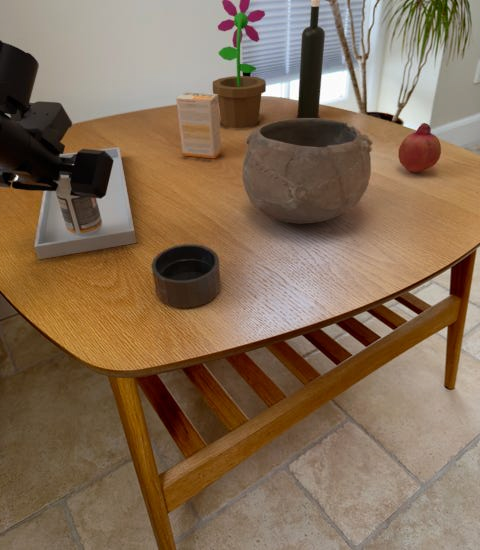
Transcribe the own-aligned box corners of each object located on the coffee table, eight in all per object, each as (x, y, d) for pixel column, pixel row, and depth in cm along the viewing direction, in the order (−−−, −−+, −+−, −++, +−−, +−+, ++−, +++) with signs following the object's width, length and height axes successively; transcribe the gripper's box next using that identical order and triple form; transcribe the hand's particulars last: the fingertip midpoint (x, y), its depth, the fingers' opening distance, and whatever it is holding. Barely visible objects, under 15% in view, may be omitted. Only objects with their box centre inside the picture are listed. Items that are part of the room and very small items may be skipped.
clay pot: (220, 209, 79) (216, 127, 70) (303, 178, 89) (308, 102, 80) (301, 260, 66) (308, 166, 57) (387, 217, 76) (405, 131, 66)
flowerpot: (269, 115, 124) (271, -10, 106) (260, 131, 113) (260, -5, 95) (221, 112, 127) (215, -10, 109) (207, 128, 116) (198, -5, 98)
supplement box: (222, 152, 102) (219, 93, 94) (214, 159, 98) (211, 99, 91) (190, 148, 104) (184, 91, 96) (181, 156, 101) (175, 97, 93)
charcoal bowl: (161, 315, 56) (156, 288, 54) (152, 276, 63) (147, 250, 61) (227, 301, 58) (226, 274, 56) (212, 264, 65) (210, 239, 63)
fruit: (390, 175, 89) (400, 127, 83) (398, 161, 95) (408, 115, 89) (432, 182, 86) (445, 132, 80) (438, 167, 92) (450, 120, 86)
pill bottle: (105, 218, 74) (92, 163, 68) (100, 236, 69) (85, 177, 64) (71, 221, 74) (55, 165, 68) (63, 238, 69) (46, 180, 63)
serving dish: (38, 259, 68) (33, 246, 66) (52, 165, 98) (49, 155, 97) (136, 243, 71) (134, 230, 69) (121, 157, 101) (119, 147, 100)
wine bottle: (300, 113, 125) (308, -12, 107) (320, 115, 123) (331, -12, 105) (294, 119, 120) (301, -10, 102) (315, 121, 119) (325, -10, 101)
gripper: (90, 89, 53) (144, 147, 68) (-34, 82, 57) (43, 138, 72) (68, 175, 51) (129, 215, 66) (-57, 162, 56) (26, 202, 71)
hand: (80, 190), depth 69 cm, fingers closed on pill bottle, 6 cm apart
